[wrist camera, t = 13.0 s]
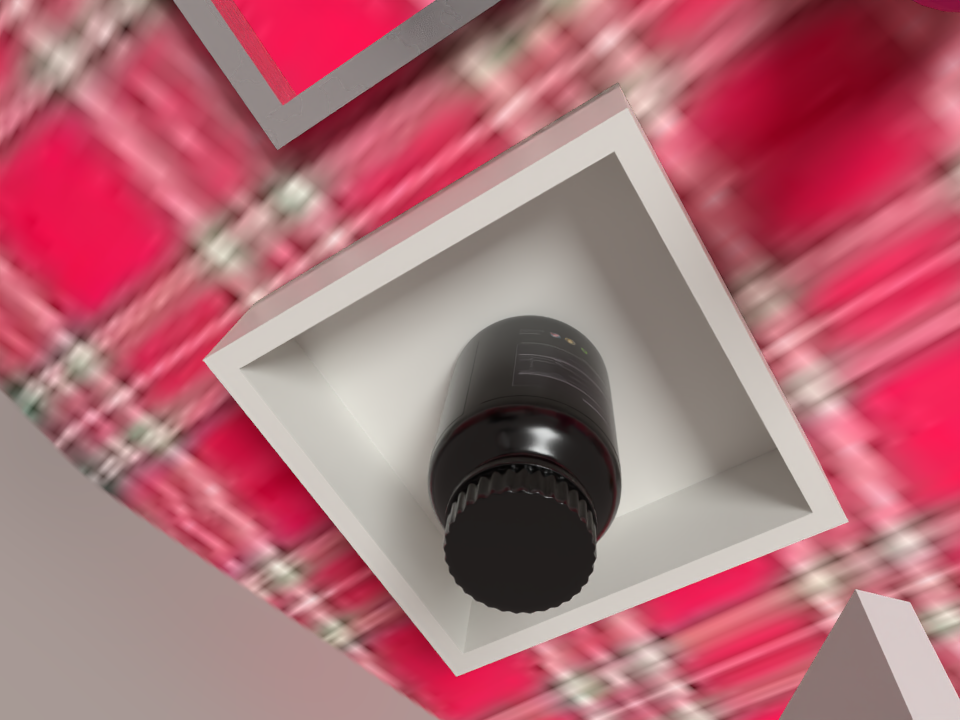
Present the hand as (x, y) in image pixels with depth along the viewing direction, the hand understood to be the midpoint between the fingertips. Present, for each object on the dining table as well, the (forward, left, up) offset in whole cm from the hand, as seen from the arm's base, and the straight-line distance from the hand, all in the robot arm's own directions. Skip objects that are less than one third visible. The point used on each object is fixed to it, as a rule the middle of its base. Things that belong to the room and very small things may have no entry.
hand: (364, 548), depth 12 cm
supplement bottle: (+9, -4, -24) cm, 26 cm away
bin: (+9, -4, -25) cm, 26 cm away
